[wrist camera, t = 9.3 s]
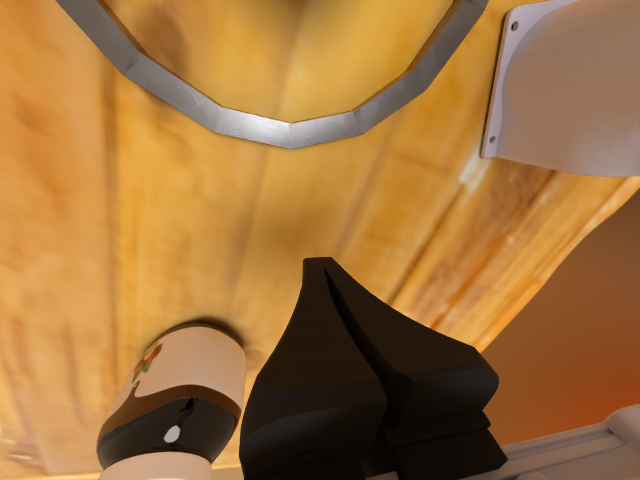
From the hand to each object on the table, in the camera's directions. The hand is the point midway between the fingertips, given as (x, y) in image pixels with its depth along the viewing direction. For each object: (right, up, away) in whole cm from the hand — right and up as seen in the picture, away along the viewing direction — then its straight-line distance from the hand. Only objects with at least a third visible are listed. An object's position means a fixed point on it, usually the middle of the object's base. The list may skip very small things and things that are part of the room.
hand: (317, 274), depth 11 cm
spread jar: (-13, -11, +15) cm, 23 cm away
